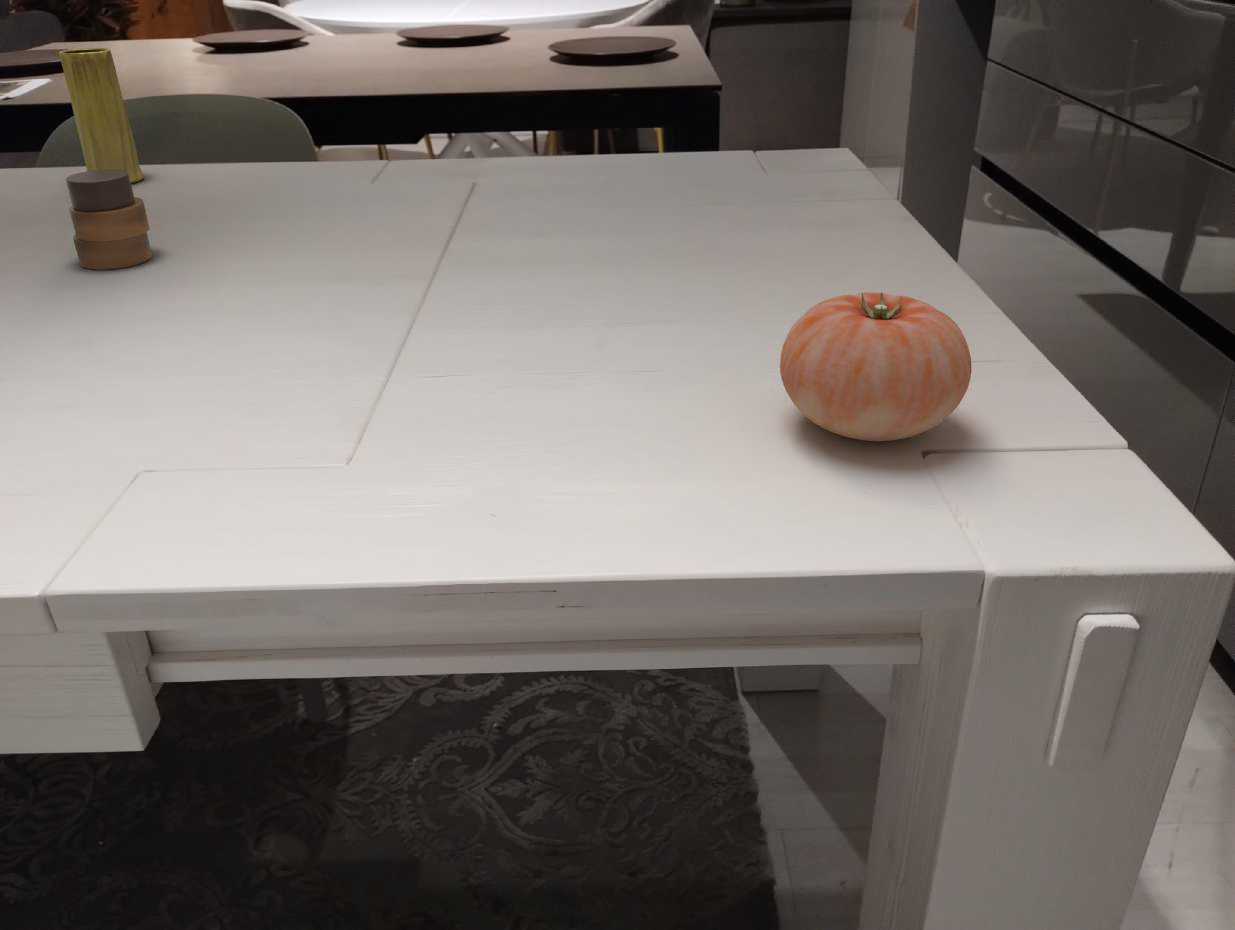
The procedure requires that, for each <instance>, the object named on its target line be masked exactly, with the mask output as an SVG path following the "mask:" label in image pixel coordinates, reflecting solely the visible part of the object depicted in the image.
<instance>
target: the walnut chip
mask: <svg viewBox="0 0 1235 930" xmlns="http://www.w3.org/2000/svg"><path fill="white" fill-rule="evenodd" d="M65 183H66V186H67V190H68V194H69V197H70V201H71V202H70V203H71V206H72V205H73V208H74V209H75V210H79V211H88V212H94V211H107V210H114V209H119V208H123V207H126V206H129V205H131V204H133V203H134V202H135V199H134V197H135V194H134V190H133V187H132V183H131V182H130V178H129V174H128V172H127V171H124V170H115V169H106V170H93V171H87V170H85V171H82V172H77V173H73V174H71V175H68V176H67V177H66V178H65Z"/></svg>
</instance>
